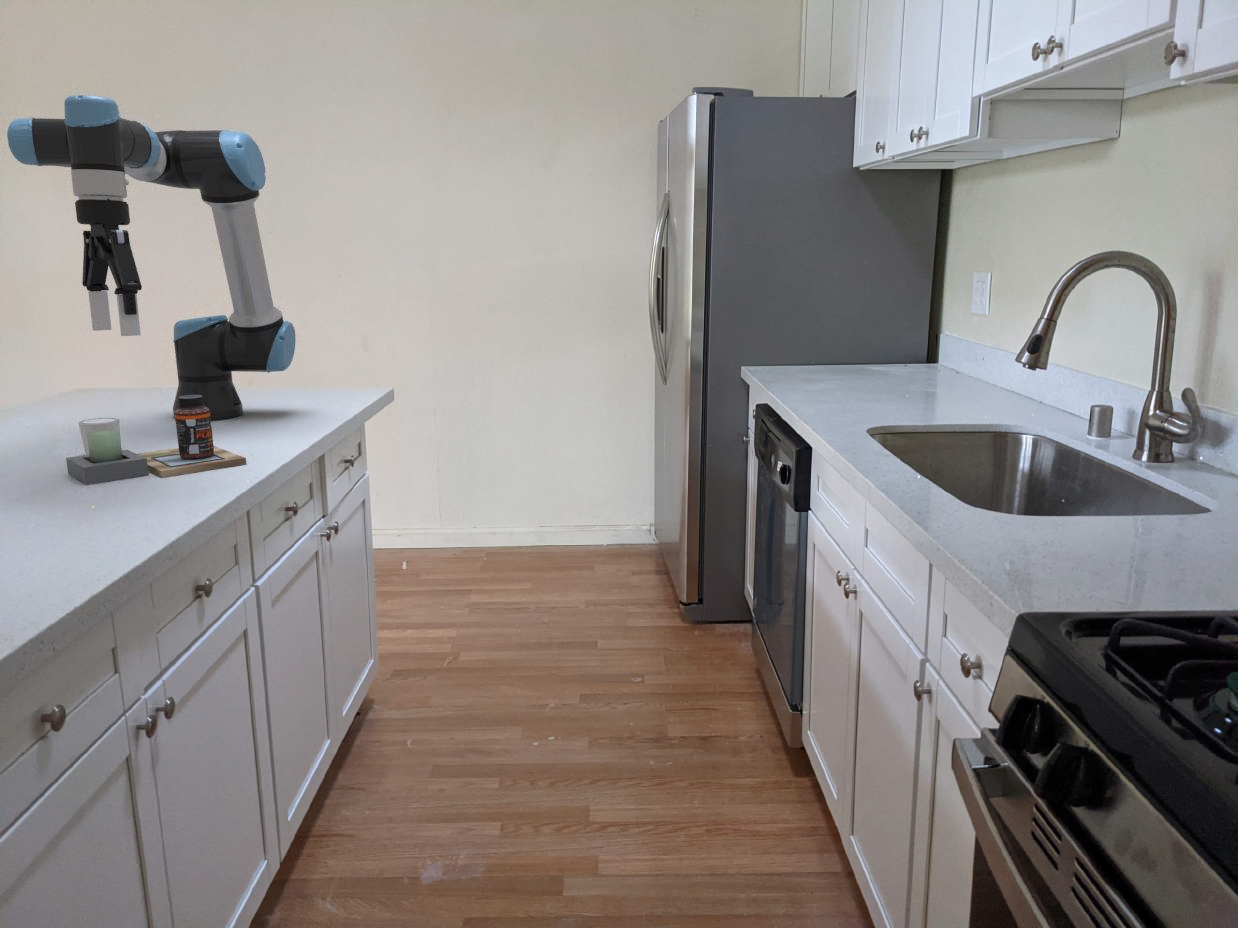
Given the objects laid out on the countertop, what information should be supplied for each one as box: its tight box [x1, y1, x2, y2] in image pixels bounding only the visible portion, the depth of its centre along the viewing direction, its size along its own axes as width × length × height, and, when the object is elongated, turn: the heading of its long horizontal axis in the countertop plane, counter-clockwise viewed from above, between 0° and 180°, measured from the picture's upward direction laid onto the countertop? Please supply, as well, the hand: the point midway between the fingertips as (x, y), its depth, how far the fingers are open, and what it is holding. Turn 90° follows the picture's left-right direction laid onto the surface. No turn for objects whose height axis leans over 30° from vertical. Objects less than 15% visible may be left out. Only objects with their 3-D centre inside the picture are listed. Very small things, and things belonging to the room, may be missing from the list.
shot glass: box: [77, 417, 121, 455], centre depth 176 cm, size 7×7×7 cm
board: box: [137, 445, 247, 478], centre depth 172 cm, size 17×15×1 cm
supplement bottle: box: [174, 395, 215, 459], centre depth 170 cm, size 6×6×11 cm
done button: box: [87, 430, 123, 464], centre depth 161 cm, size 5×5×5 cm
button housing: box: [65, 449, 149, 486], centre depth 162 cm, size 10×10×3 cm
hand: (116, 333), depth 152 cm, fingers open, 13 cm apart
